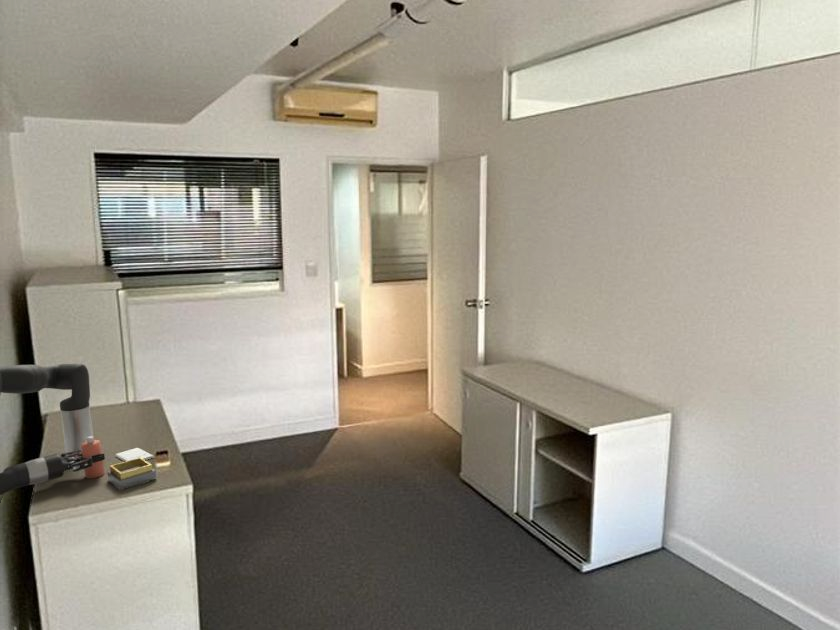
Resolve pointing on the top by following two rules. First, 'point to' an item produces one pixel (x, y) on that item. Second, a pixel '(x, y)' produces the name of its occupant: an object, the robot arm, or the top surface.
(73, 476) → the top surface
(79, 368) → the robot arm
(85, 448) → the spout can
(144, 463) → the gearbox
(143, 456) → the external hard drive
